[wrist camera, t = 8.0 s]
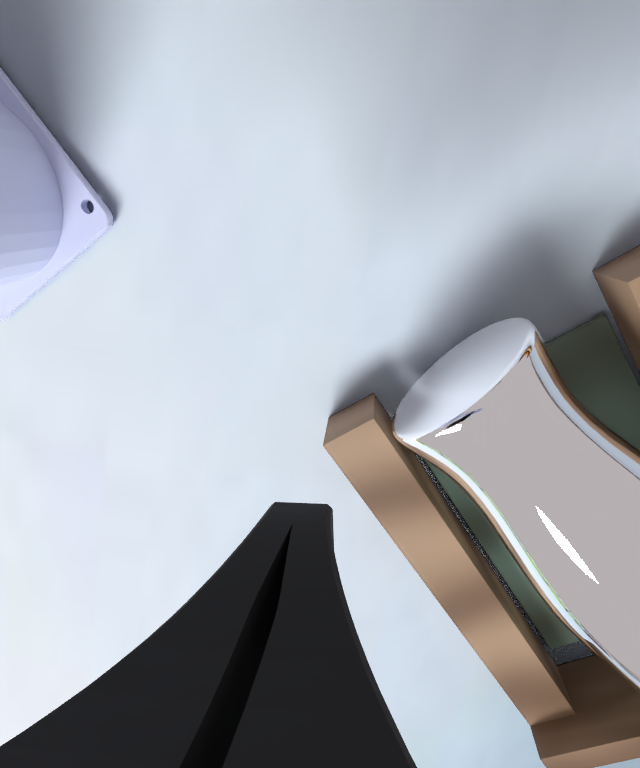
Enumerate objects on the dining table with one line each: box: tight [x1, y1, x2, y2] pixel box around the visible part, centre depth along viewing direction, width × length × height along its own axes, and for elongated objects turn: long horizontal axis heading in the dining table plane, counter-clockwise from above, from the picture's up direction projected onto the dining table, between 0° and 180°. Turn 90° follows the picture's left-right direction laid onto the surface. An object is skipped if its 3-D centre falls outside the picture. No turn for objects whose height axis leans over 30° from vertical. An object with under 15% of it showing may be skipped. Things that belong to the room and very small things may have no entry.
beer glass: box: [392, 318, 640, 694], centre depth 17 cm, size 7×7×15 cm
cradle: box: [323, 245, 640, 768], centre depth 19 cm, size 21×14×4 cm
